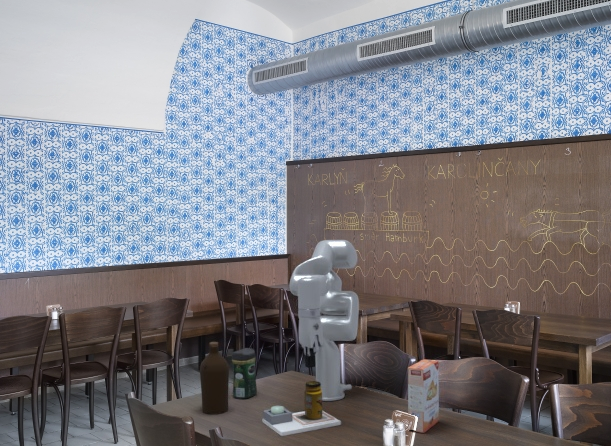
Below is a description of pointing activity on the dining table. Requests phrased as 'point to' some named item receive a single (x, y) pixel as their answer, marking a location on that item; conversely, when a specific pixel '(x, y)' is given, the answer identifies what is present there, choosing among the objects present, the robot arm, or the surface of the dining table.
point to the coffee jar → (244, 373)
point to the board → (296, 422)
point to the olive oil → (214, 381)
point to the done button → (277, 410)
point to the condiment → (312, 402)
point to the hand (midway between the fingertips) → (310, 366)
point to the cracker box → (424, 393)
